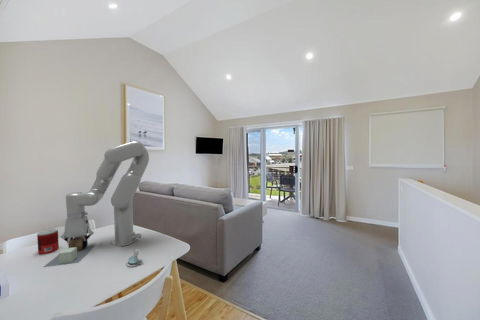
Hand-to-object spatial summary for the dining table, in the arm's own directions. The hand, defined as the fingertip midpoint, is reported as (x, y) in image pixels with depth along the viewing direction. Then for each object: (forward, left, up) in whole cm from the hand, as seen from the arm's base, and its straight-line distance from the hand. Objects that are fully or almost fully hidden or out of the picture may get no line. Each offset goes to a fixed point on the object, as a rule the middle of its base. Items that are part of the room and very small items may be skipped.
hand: (78, 247), depth 108 cm
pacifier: (-33, +23, -1) cm, 40 cm away
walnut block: (0, 0, 0) cm, 0 cm away
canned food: (+15, -2, -1) cm, 15 cm away
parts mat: (0, +6, -1) cm, 6 cm away
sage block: (-1, +12, -1) cm, 12 cm away
